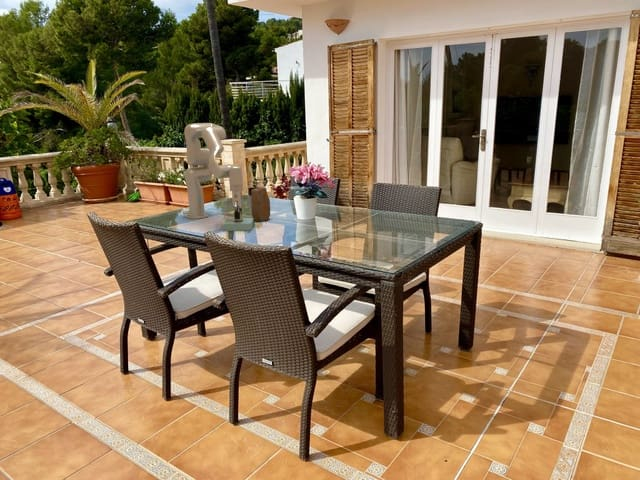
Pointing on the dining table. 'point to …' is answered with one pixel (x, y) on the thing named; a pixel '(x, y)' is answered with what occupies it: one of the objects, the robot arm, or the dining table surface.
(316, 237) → the dining table surface
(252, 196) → the brown upright rounded piece
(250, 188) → the glass holder
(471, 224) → the dining table surface
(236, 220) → the peg
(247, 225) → the socket board
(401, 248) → the dining table surface
